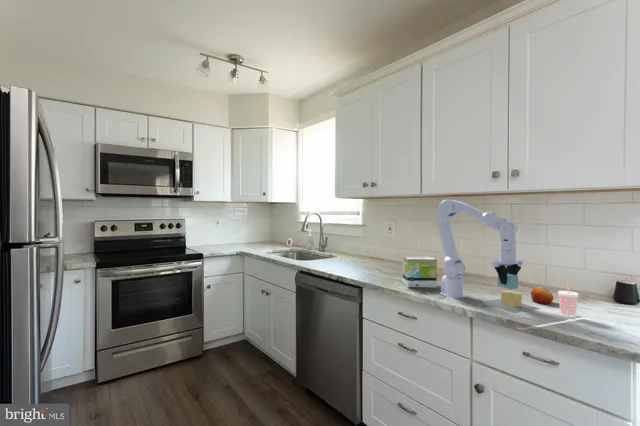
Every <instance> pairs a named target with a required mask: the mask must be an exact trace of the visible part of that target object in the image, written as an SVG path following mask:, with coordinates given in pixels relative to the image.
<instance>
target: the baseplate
mask: <svg viewBox="0 0 640 426" xmlns="http://www.w3.org/2000/svg"><path fill="white" fill-rule="evenodd" d="M480 302H481V303H482V304H483V303H484V304H487V305H489V306H492V307H495V308H498V309H502V310H504V311H507V312H510V313H513V314H516V313H517V314H518V313H522V312H523V313H524V312H529V311H536V310H541V308H539V307H535V306H534V305H533V306H532V305H530V304H526V303H523V302H522V306H520V307H511V306H508V305H505V304H502V303H501V298H496V299H489V300H483V301H481V300H480Z"/></svg>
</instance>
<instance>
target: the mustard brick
mask: <svg viewBox="0 0 640 426" xmlns="http://www.w3.org/2000/svg"><path fill="white" fill-rule="evenodd" d="M500 292H501V295H500V299H501V303H502V304H505V305H508V306H511V307H520V306H522V303H523V302H522V301H523V300H522V297H523V296H522V293H519V292H516V291H512V290H510V289H507V290H503V291H502V290H501V291H500Z"/></svg>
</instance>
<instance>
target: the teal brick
mask: <svg viewBox="0 0 640 426" xmlns="http://www.w3.org/2000/svg"><path fill="white" fill-rule="evenodd" d="M497 286H498V287H501V288H504V289H507V290H515V289H519V275H517V276H516V275H511V274H507V282H506V284H501V282H500V279H499V275H498V274H497Z"/></svg>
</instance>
